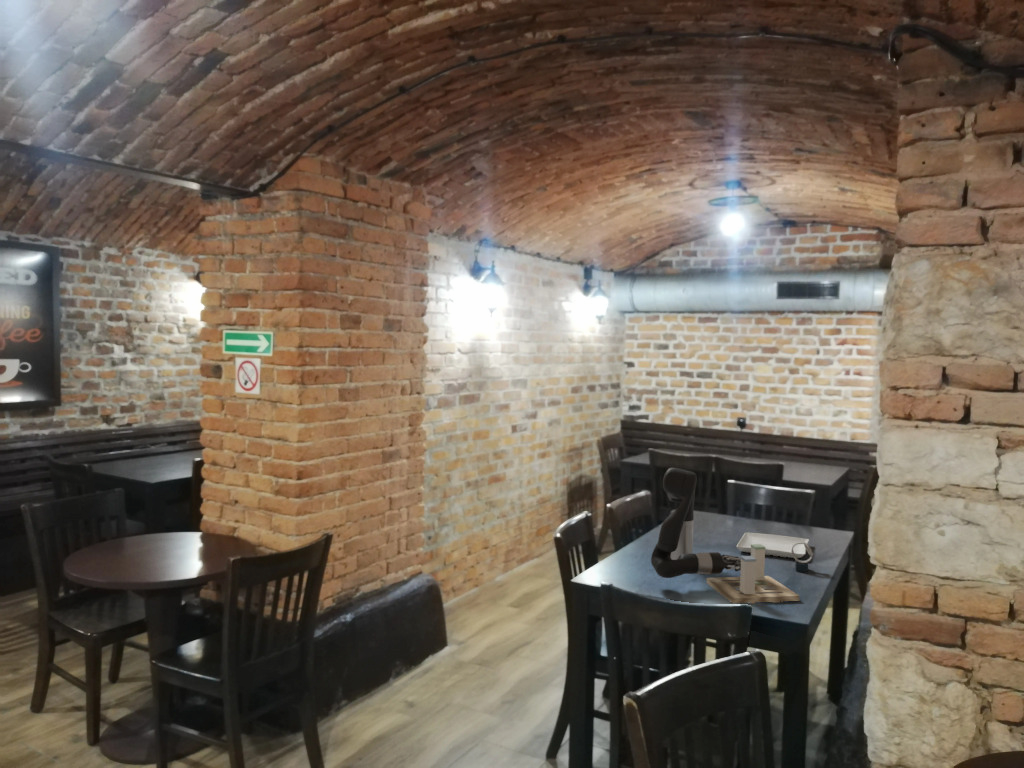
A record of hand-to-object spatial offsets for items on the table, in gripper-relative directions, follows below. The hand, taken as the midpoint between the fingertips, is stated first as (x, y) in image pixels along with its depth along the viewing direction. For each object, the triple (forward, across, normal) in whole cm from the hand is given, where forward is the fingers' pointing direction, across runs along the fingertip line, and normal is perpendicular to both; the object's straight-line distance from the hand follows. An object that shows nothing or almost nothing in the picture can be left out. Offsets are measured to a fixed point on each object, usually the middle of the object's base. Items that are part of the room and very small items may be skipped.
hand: (752, 562), depth 276 cm
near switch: (-9, -14, +6) cm, 18 cm away
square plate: (+31, +44, +9) cm, 55 cm away
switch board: (-4, -7, +8) cm, 12 cm away
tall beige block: (+2, 0, +6) cm, 6 cm away
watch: (+28, +16, +9) cm, 33 cm away
